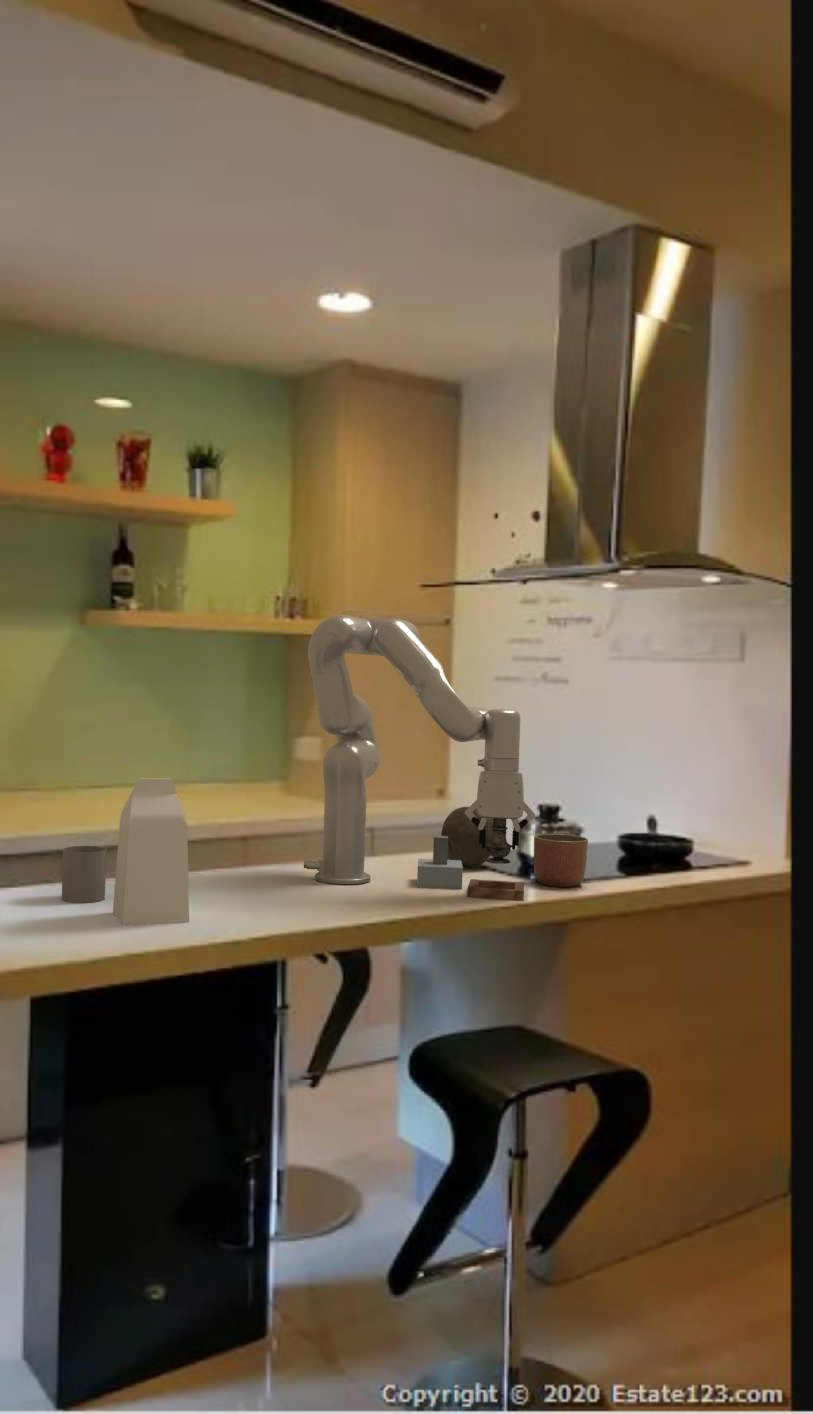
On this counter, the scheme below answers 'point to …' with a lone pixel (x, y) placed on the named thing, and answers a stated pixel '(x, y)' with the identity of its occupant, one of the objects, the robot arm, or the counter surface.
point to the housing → (440, 868)
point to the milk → (152, 857)
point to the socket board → (495, 889)
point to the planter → (560, 859)
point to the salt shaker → (498, 843)
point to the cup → (83, 874)
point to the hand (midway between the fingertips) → (498, 847)
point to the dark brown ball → (466, 838)
